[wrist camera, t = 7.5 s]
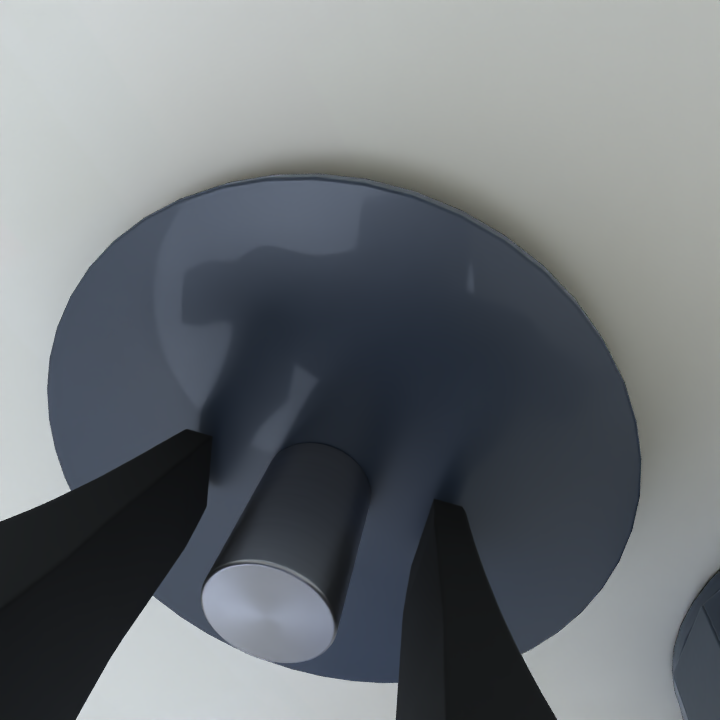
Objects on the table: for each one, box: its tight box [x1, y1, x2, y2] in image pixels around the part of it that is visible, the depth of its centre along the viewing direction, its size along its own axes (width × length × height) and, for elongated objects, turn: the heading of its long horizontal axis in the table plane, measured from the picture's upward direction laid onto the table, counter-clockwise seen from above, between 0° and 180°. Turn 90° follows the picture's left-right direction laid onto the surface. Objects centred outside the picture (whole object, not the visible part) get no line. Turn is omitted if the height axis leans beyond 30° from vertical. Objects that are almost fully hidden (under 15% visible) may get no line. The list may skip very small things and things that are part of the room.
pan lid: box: [47, 174, 641, 683], centre depth 11 cm, size 13×13×4 cm
